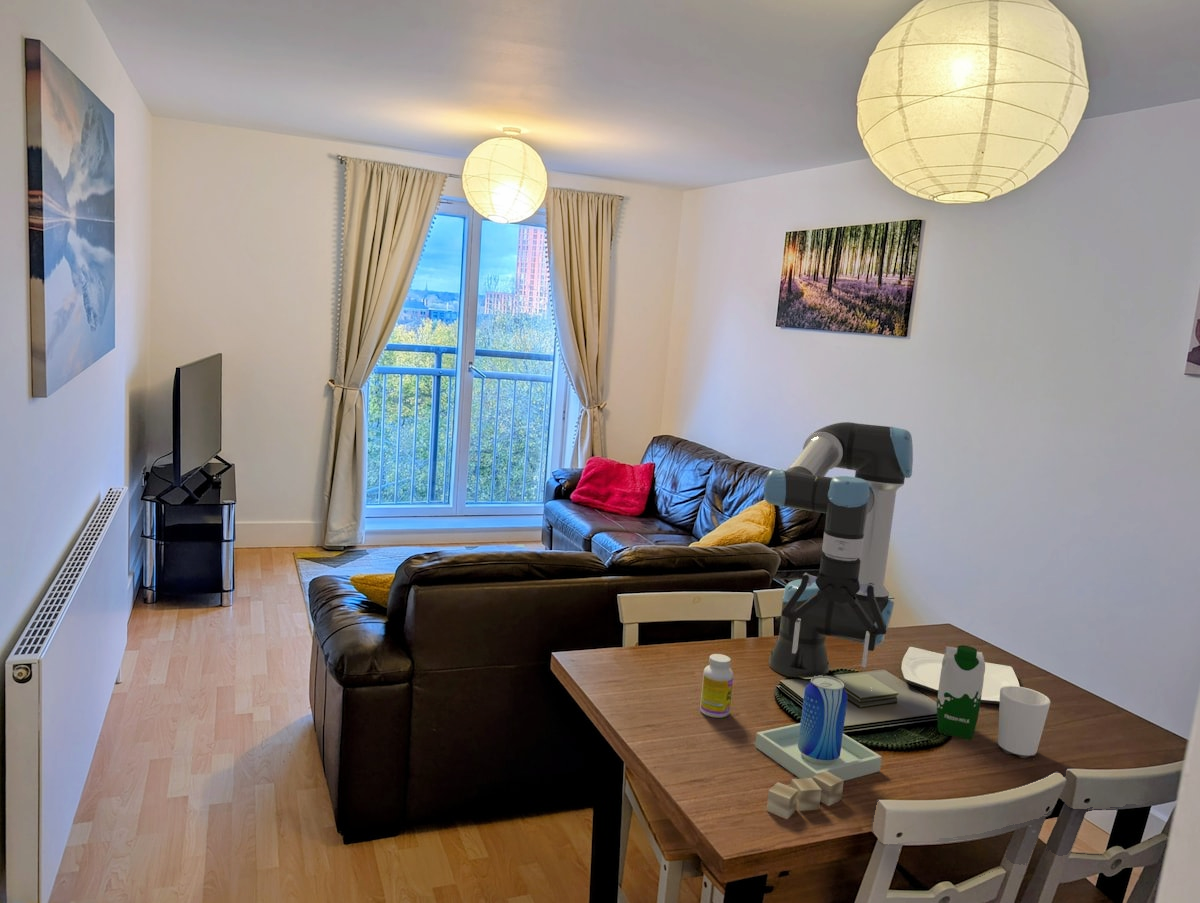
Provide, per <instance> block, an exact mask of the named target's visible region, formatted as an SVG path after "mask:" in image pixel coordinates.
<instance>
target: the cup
mask: <svg viewBox="0 0 1200 903" xmlns="http://www.w3.org/2000/svg"><path fill="white" fill-rule="evenodd" d="M998 705H999V709H998V730H997V733H998V734H997V745H998V747H999V748H1001V749H1002V751H1003V752H1004V753H1005V754H1006V755H1011V754H1014V755H1016V756H1018V757H1019V758H1021V759H1027V758H1028V757H1036V754H1037V751H1038V748H1039V745H1040V742H1041V738H1042V733H1043V731H1044V728H1045V723H1046V720H1047V717H1048V713H1049V710H1050V706H1051V700H1050V698H1049V696H1046V695H1045V694H1043V693H1042V692H1039V691H1037V690H1034V689H1031V688H1027V687H1024V686H1020V687H1018V686H1005V687H1002V688H1001V689H1000V704H998Z"/></svg>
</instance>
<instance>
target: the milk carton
mask: <svg viewBox="0 0 1200 903" xmlns="http://www.w3.org/2000/svg"><path fill="white" fill-rule="evenodd" d="M943 654H944V657H943V661H942V669H941V675H940V682H939V689H938V693H937V697H936V718H937V722H938V723H937V732H941V733H945V734H948V735H947V736H949V737H950V736H951V737H955V738H960V739H965V740H969V741H973V737H974V735H975V730H976V728H977V727H976V726H977V724H978V719H979V714H980V708H981V703H982V702H981V695H982V689H983V681H984V673H985V662H986V661H985V656H984V655H983V652H982V651H978V649H976V648H975V647H973V646H970V645H969V646H968V645H957V647H954V646H947V645H946V646H945V652H944V653H943ZM945 734H944V735H945Z"/></svg>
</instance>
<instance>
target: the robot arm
mask: <svg viewBox="0 0 1200 903" xmlns="http://www.w3.org/2000/svg"><path fill="white" fill-rule="evenodd" d="M913 456H914V450H913V439H912V434H911V432H910V431H909V430H907V429H905V428H901V427H900V428H899V427H895V426H886V425H875V424H866V423H857V422H849V421H844V422H837V423H833V424H829V425H826V426H824V427H821V428H819V429H817V430H815V431H814V432H813V433H811V434H810V435H809V436H808V437H807V439H805V441H804V444H803V445H802V451H801V452H800V453H799V455H798V456H797V457H796V458H795V460H794V461H793V462H792V464H790V466H789V467H788V468H787V469H786V470H783V469H772V470H769V472H768V473H767V476H766V478H765V482H764V490H763V494H764V496H763V497H764V500H765V502H766V503H767V504H769V505H775V506H779V507H780V508H790V509H797V510H803V511H804V510H805V511H809V512H816V513H822V514H826V515H825V524H824V530H823V540H822V546H821V547H822V549H821V552H823V553H822V554H821V556H820V563H819V565H820V566H819V573H818V575H817V576H815V575H811V574H810V572H807V571H806V572H804V574H803V575H802V577H801V578H800V579H794V580H792V581H790V582H788V583H787V584H786V585H785V587H784V591H783V597H782V599H781V602H782V604H781V606H782V607H781V613H780V624H779V633H778V637H777V639H776V642H775V644H774V646H773V648H772V650H771V652H770V654H769V658H768V659H769V660H768V665H769V668H771V669H772V670H773V671H774V672H776V673H778V674H780V675H782V676H786V677H788V678H792V677H794V676H815V675H821V674H826V673H828V674H829V672H830V662H829V660H828V653H827V648H826V636H828V637H831V638H832V637H833V638H837V639H841V640H846V641H851V642H855V643H859V644H861V645H863V651H862V652H863V653H862V661H861V667H862V668H865V669H866V666H867V660H868V654H869V653H868V652H869V651H871V652H873V651H874V650H875V647H876V646H880V645H881V644H882V643H883V642H884V639H885V637H886V634H887V631H888V628H889V624H890V621H891V617H892V614H893V609H894V606H895V603H894V601H892V600H891V599H889V596H890V592H889V590H888V589H887V587H886V586H884V585H885V577H886V572H887V571H886V569H887V562H888V555H889V549H890V548H889V547H890V541H891V534H892V533H891V532H892V526H893V518H894V511H895V502H896V496H897V491H898V489H899V488H901V487H903V486H904V485H905V480H906V479H910V478H911V477H912V475H913V463H914V462H913V460H914V457H913ZM834 468H837V469H838V468H839V469H842V470H843V469H845V470H848V471H849V470H852V471H855V473H854V476H847V475H846V476H845V475H844V476H843V475H842V476H840V475H839V476H834V477H831V476H826V475H827V474H828V472H829V471H830V470H832V469H834Z"/></svg>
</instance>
